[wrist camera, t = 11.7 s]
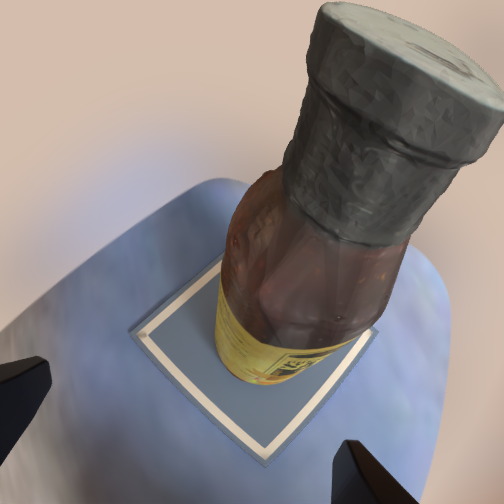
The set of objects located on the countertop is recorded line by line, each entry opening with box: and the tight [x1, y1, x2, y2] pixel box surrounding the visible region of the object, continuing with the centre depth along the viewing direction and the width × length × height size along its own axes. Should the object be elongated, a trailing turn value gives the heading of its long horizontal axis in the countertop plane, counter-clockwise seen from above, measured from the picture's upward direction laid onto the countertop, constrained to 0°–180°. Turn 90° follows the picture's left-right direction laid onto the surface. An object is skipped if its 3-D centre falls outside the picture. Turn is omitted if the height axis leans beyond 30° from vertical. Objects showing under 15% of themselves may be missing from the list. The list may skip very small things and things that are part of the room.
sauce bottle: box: [215, 2, 504, 385], centre depth 12 cm, size 7×6×20 cm
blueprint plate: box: [129, 251, 379, 468], centre depth 21 cm, size 13×13×1 cm
